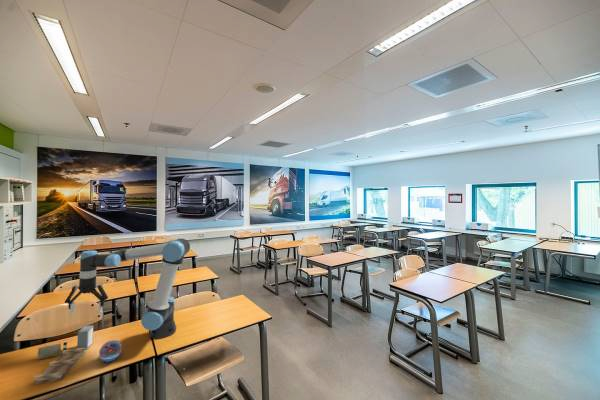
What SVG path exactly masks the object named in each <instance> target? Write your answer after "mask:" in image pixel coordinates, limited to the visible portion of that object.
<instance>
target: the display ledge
mask: <svg viewBox="0 0 600 400" xmlns="http://www.w3.org/2000/svg"><path fill="white" fill-rule="evenodd" d="M85 354H86V350H85V348H78V349H77V348H72V349H66V350H63V349H62V351H61V354H60V355H59V357H58V358H57V359H56V360H55V361H50V362H49V364H48V365H49V366H48V367H47V368H46V370H45V371H43V372H42V373H41V374H40V375H35V376H34V377H33V378H34V381H33V384H34V385H39V384H44V383H45V384H46V383H51V382H59V381H62V380H63V378H64V377H65V376H66V375H67V374H68V373H69V372H70V371H71V370H72V368H73V367H74V366H75V365H76V364H77V363H78V362H79V361H80V360H81V359H82V357H83V356H84V355H85Z"/></svg>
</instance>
